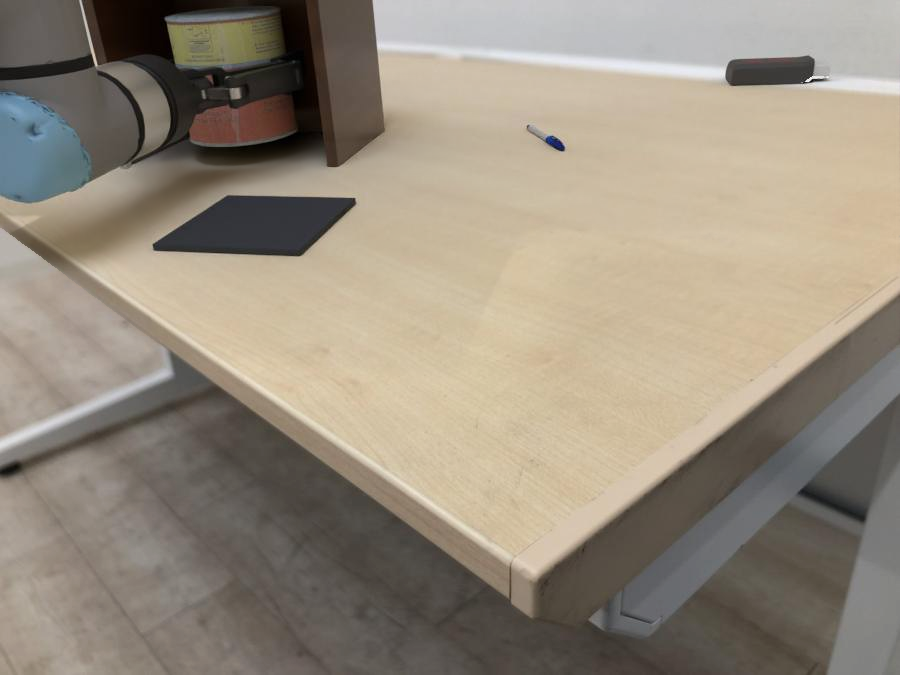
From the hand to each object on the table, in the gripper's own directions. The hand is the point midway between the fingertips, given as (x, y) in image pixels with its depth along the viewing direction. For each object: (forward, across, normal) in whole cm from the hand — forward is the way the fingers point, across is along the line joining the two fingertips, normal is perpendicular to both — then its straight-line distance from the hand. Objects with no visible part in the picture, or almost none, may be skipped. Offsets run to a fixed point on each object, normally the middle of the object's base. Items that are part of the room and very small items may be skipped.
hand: (250, 63), depth 85 cm
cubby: (-2, 0, -8) cm, 9 cm away
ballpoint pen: (+2, +31, -9) cm, 32 cm away
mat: (-26, +12, -8) cm, 30 cm away
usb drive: (+33, +57, -9) cm, 67 cm away
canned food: (-4, 0, -7) cm, 8 cm away
